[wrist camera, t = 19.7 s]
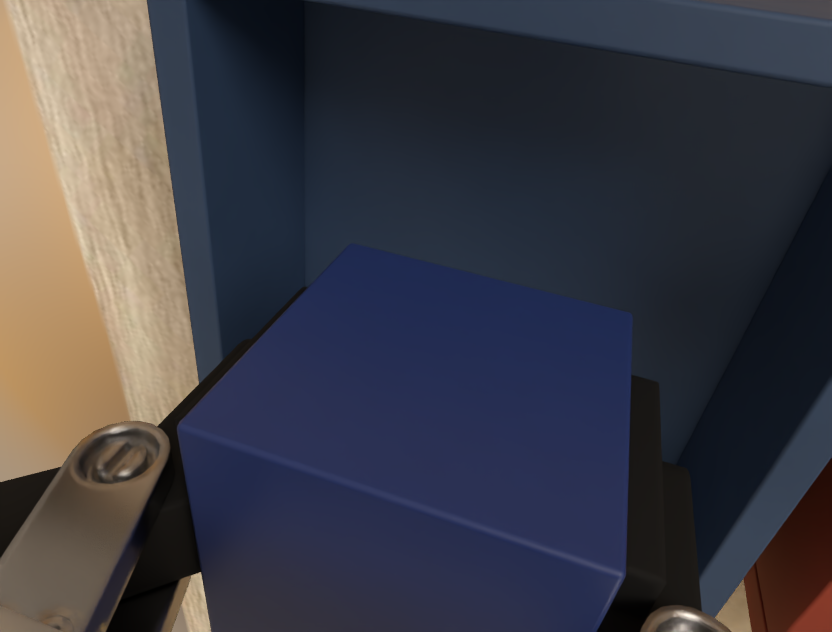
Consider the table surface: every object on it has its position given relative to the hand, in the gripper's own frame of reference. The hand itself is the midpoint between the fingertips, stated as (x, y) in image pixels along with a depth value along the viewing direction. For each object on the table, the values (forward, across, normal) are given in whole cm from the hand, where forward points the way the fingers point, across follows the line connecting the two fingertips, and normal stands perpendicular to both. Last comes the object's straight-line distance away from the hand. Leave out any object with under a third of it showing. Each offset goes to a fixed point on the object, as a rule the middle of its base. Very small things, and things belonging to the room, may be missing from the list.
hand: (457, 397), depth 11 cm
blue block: (0, 0, 0) cm, 0 cm away
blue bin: (+6, 0, 0) cm, 6 cm away
